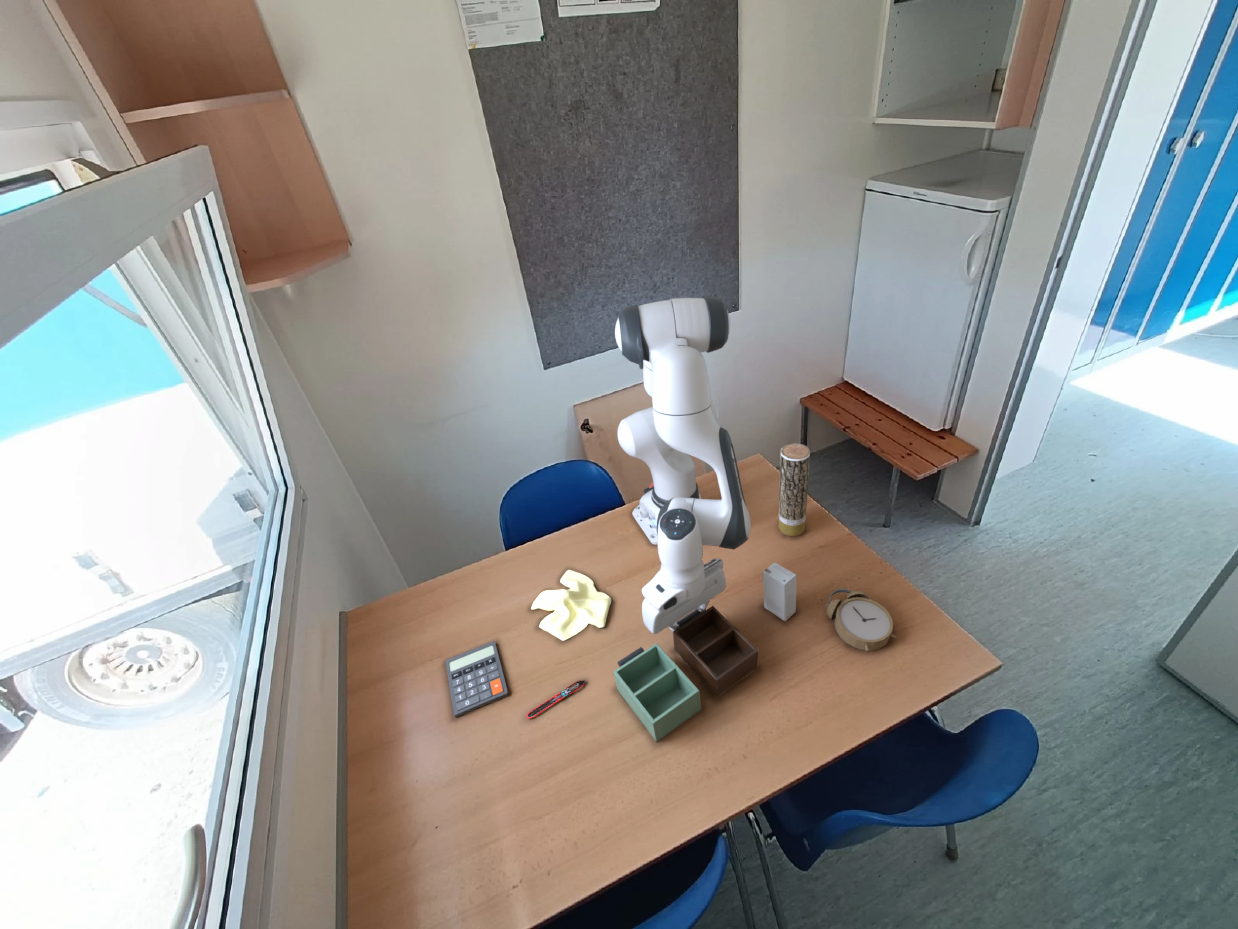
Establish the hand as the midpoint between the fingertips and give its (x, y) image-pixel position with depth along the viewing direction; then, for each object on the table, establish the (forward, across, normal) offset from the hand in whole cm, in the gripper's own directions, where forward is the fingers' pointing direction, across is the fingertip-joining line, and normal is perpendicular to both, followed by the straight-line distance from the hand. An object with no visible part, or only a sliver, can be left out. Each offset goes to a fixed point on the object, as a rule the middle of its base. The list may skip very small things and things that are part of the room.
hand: (687, 621), depth 124 cm
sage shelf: (+4, +15, +7) cm, 17 cm away
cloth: (+5, +17, -25) cm, 31 cm away
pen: (+4, +32, -4) cm, 33 cm away
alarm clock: (+4, -30, +20) cm, 37 cm away
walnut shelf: (+4, 0, +7) cm, 8 cm away
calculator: (+4, +44, -20) cm, 49 cm away
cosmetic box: (+5, -20, +8) cm, 22 cm away
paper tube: (+5, -42, -10) cm, 43 cm away
